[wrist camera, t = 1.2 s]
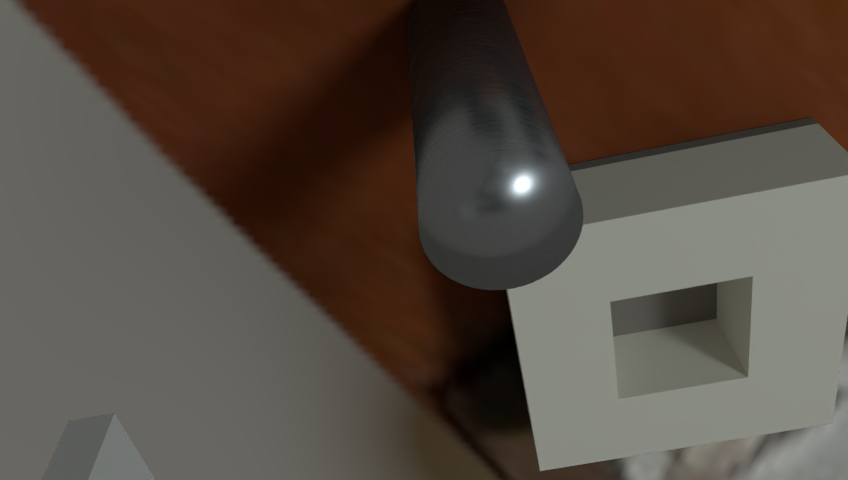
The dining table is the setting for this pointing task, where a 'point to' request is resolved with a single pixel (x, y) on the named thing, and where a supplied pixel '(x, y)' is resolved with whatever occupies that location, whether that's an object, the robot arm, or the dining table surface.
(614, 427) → the bore block
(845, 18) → the dining table surface
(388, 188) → the dining table surface
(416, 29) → the pin
